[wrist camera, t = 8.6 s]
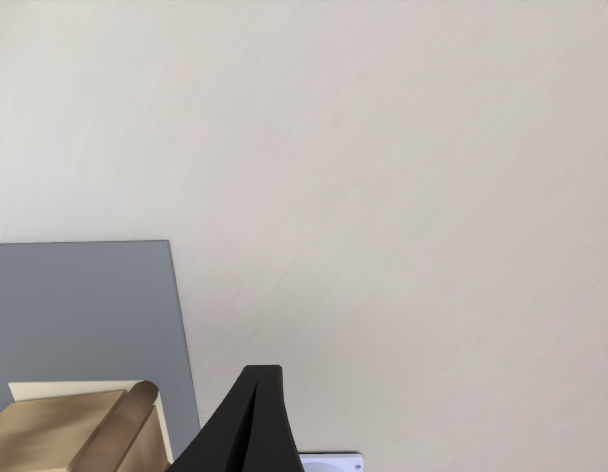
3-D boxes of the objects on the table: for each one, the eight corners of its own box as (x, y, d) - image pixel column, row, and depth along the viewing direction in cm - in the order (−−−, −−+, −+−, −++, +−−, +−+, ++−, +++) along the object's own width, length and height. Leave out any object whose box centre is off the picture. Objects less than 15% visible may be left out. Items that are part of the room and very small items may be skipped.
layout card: (206, 469, 25) (204, 475, 25) (26, 471, 25) (20, 477, 25) (168, 240, 19) (165, 242, 19) (-68, 245, 19) (-77, 247, 19)
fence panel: (123, 389, 22) (53, 482, 16) (129, 404, 22) (62, 499, 16) (10, 402, 22) (-102, 496, 16) (17, 416, 22) (-89, 513, 16)
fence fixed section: (175, 471, 25) (135, 569, 19) (152, 471, 25) (105, 569, 19) (156, 380, 22) (103, 461, 16) (130, 380, 22) (68, 462, 16)
